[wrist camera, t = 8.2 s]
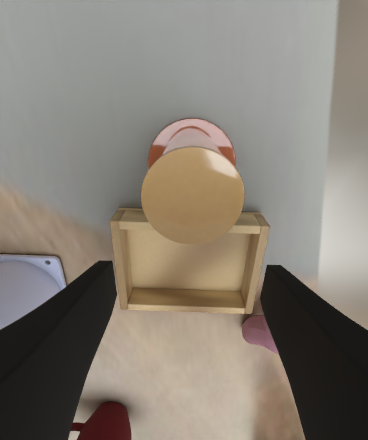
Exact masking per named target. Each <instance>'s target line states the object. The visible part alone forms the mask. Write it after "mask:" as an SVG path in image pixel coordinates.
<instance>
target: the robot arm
mask: <svg viewBox="0 0 368 440" xmlns="http://www.w3.org/2000/svg"><path fill="white" fill-rule="evenodd" d="M47 260H49V261H50V262H48V261H47ZM116 296H117V291H116V284H115V277H114V270H113V263H112V261H98V262H97V263H95V264H94V265H93V266H91V267H90V268H89V269H88V270H86V271H85V272H84V273H83V274H82V275H80V276H79V277H78V278H76V279H75V280H74V281H73V282H71V283H70V284H69V285H68V286H66V282H65V278H64V274H63V270H62V266H61V262H60V259H59V258H58V257H56V256H39V255H10V254H0V440H68V437H69V434H70V430H71V427H72V423H73V420H74V416H75V413H76V410H77V406H78V403H79V399H80V396H81V393H82V390H83V387H84V383H85V380H86V377H87V374H88V371H89V369H90V366H91V363H92V361H93V359H94V356H95V354H96V351H97V349H98V346H99V344H100V342H101V339H102V337H103V334H104V332H105V330H106V327H107V325H108V322H109V320H110V317H111V315H112V311H113V308H114V304H115V300H116ZM260 300H261V304H262V309H263V312H264V316H265V320H266V322H267V325H268V328H269V330H270V333H271V335H272V338H273V340H274V343H275V345H276V348H277V350H278V353H279V356H280V358H281V361H282V363H283V366H284V368H285V371H286V374H287V377H288V379H289V382H290V386H291V389H292V393H293V396H294V399H295V403H296V406H297V410H298V413H299V417H300V421H301V424H302V428H303V432H304V435H305V439H306V440H368V330H366V329H365V328H363V327H362V326H360V325H359V324H357V323H356V322H354V321H352V320H351V319H349V318H348V317H347V316H345V315H344V314H342V313H341V312H340V311H338V310H337V309H335V308H334V307H333V306H331V305H330V304H329V303H327V302H326V301H325V300H323V299H322V298H321V297H319V296H318V295H317V294H316V293H314V292H313V291H312V290H311V289H309V288H308V287H307V286H306V285H304V284H303V283H302V282H301V281H300V280H298V279H297V278H296V277H295V276H294V275H292V274H291V273H290V272H289V271H287V270H286V269H285V268H284V267H282V266H281V265H267V268H266V273H265V278H264V282H263V287H262V292H261V297H260Z"/></svg>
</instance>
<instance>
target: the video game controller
mask: <svg viewBox="0 0 368 440" xmlns="http://www.w3.org/2000/svg"><path fill="white" fill-rule="evenodd" d="M242 334H243V337H244V339H245V341H247V342H248V343H250V344H256V345H261V346H264V347H266V348H268V349H269V350H271V351H273V352H275V353H278V350H277V348H276V345H275V343H274V340H273V338H272V335H271V333H270V330H269V328H268V325H267V322H266V320H265V316H264V315H256V316H252V317H250V318H248V319H247V320H246V321H245V322H244V324H243V326H242ZM278 354H279V353H278Z"/></svg>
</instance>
